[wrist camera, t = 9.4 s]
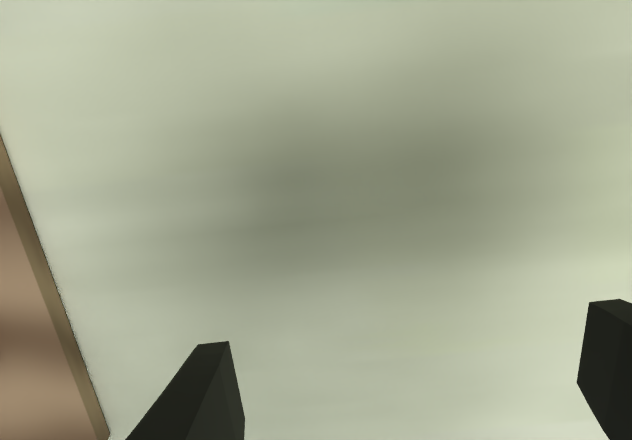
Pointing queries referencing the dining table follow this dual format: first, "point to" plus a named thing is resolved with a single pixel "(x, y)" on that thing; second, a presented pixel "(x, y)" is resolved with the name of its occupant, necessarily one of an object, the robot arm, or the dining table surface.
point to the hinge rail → (37, 338)
